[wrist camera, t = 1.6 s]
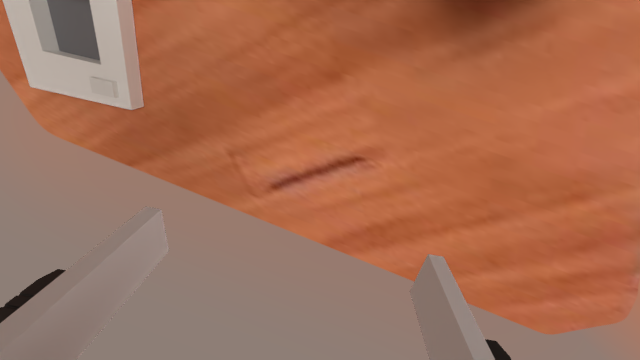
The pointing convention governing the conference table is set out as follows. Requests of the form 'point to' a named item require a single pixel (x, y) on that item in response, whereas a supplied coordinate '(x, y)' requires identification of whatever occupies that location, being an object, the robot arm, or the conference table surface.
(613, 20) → the conference table surface
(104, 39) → the socket
